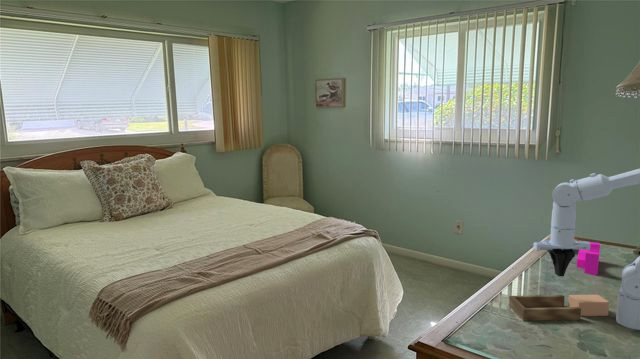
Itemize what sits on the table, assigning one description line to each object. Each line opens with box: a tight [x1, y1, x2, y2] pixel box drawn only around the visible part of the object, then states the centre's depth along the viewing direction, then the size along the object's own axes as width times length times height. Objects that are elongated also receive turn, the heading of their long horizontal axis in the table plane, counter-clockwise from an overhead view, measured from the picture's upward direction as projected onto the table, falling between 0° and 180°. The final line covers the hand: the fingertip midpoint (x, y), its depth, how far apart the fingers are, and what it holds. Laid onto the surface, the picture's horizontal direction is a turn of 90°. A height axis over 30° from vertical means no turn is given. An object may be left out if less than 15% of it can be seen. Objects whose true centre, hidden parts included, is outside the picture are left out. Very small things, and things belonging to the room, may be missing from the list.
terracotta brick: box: [567, 294, 610, 317], centre depth 121 cm, size 8×5×4 cm, turn 89°
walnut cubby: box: [508, 294, 582, 322], centre depth 121 cm, size 15×9×3 cm, turn 90°
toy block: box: [576, 241, 601, 276], centre depth 155 cm, size 15×6×8 cm, turn 147°
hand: (559, 275), depth 123 cm, fingers closed
